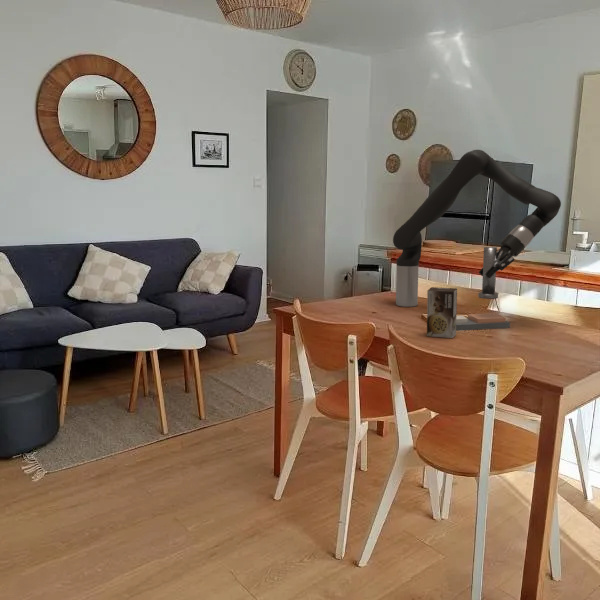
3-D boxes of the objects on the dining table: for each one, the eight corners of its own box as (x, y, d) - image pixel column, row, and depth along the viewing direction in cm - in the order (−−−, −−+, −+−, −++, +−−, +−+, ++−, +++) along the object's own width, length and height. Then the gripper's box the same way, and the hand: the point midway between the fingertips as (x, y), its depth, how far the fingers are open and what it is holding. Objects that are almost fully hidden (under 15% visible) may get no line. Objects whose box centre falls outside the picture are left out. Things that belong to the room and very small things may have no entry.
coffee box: (456, 334, 200) (458, 288, 196) (452, 338, 194) (454, 291, 191) (429, 331, 203) (431, 286, 200) (425, 336, 198) (427, 289, 194)
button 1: (448, 321, 212) (448, 316, 211) (461, 321, 212) (461, 315, 212) (454, 324, 207) (454, 319, 206) (467, 324, 208) (467, 318, 207)
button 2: (467, 319, 214) (468, 314, 214) (494, 318, 216) (495, 313, 216) (477, 324, 207) (478, 319, 206) (505, 323, 208) (505, 317, 208)
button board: (440, 324, 214) (440, 319, 214) (496, 321, 217) (496, 316, 217) (451, 330, 204) (451, 325, 204) (509, 327, 208) (510, 322, 207)
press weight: (475, 295, 212) (477, 246, 209) (492, 295, 213) (494, 246, 210) (483, 299, 206) (485, 248, 202) (501, 298, 207) (504, 248, 203)
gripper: (500, 231, 213) (468, 265, 214) (521, 234, 200) (486, 271, 200) (513, 245, 215) (481, 279, 216) (534, 249, 201) (500, 285, 202)
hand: (484, 275), depth 208 cm, fingers closed on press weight, 4 cm apart
